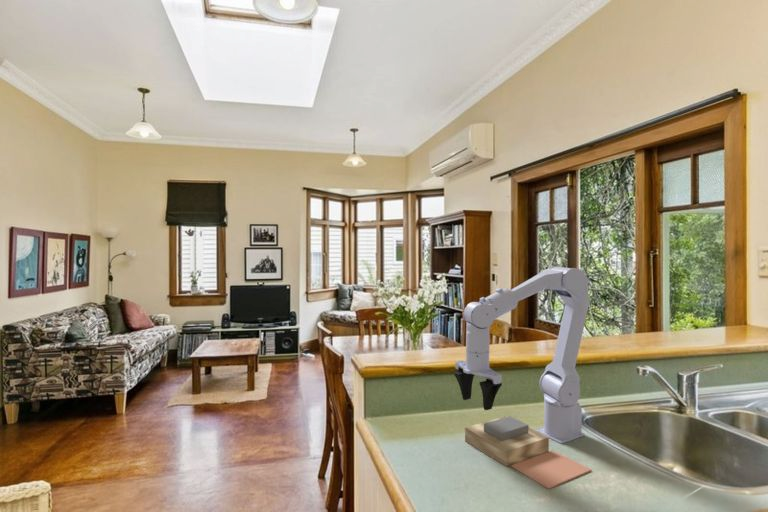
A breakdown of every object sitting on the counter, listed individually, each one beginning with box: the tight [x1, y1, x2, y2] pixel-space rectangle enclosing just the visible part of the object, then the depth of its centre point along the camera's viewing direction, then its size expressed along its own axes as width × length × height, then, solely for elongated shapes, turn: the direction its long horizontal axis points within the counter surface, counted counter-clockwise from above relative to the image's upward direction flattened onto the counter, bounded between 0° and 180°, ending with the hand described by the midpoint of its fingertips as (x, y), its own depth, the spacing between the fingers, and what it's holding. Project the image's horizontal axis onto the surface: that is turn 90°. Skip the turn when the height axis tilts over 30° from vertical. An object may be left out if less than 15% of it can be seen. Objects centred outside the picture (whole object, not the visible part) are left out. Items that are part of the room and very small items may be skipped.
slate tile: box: [484, 415, 530, 441], centre depth 106 cm, size 9×6×2 cm, turn 120°
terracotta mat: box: [510, 450, 592, 490], centre depth 95 cm, size 14×10×1 cm
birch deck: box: [464, 416, 550, 467], centre depth 106 cm, size 14×14×4 cm
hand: (477, 404), depth 108 cm, fingers open, 7 cm apart
